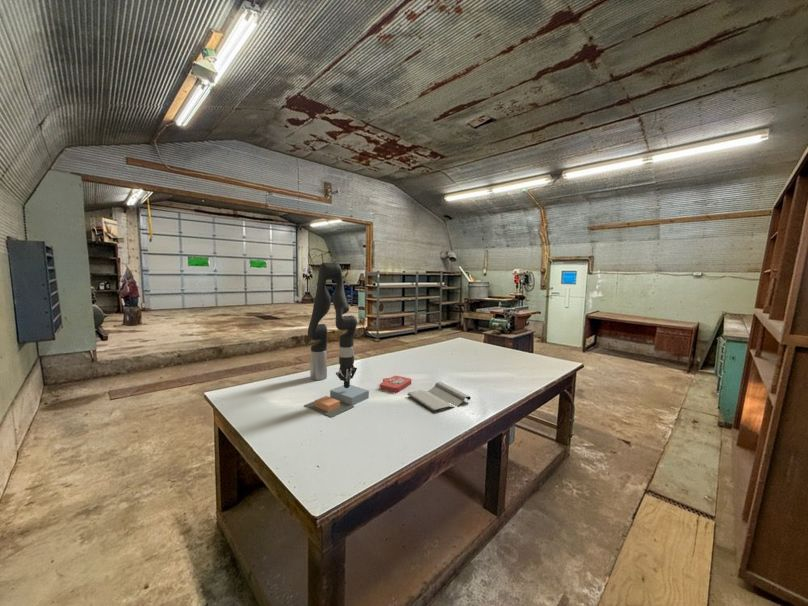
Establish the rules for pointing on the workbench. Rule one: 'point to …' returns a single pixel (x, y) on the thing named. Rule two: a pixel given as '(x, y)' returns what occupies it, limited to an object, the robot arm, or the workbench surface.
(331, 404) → the orange block
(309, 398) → the workbench surface
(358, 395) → the block
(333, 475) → the workbench surface
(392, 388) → the red flat case
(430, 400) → the mat
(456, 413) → the workbench surface
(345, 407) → the pad
